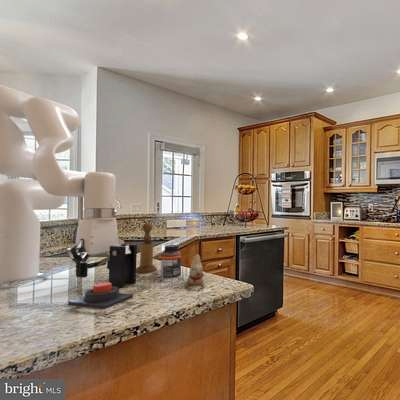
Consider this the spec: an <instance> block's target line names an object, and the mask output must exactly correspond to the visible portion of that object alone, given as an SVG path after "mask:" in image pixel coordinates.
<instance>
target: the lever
mask: <svg viewBox="0 0 400 400" xmlns="http://www.w3.org/2000/svg"><path fill="white" fill-rule="evenodd" d="M128 254H131V250H130V247H129V245H128V246H126V254H125V256H126V255H128ZM107 261H109V255H107V257H103V258H102V259H100V260H97V261H94V262H89V263H88V270H89V269H94V268H98V267H102V266H107Z"/></svg>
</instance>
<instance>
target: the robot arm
mask: <svg viewBox="0 0 400 400" xmlns="http://www.w3.org/2000/svg"><path fill="white" fill-rule="evenodd" d="M11 117H12V118H14V119H18V120H22V121H26V122H27V124H28V126H29V129H30V130H31V132H32V134H33V137H34V138H35V141H36V142H37V144H38V147H37V148H36V149H33V148H30V147H29V146H28V145H27V142H26V138H25V135H24V133H23V131H22V129H21V128H20V127H19V126H18V125H17V124H16V122H14V120H12V119H11ZM80 122H81V121H80V117H79V115H78V113H77V111H76V110H75V109H73V108H72V107H71V106H68V105H65V104H62V103H60V102H57V101H54V100H52V99H49V98H46V97H42V96H34V95H32V94H29V93H26V92H24V91H21V90H18V89H15V88H12V87H10V86H6V85H2V84H0V175H2V176H5V177H6V176H7V177H13V178H7V179H3V180H0V284H4V283H10V282H19V281H25V280H31V279H34V278H37V277H39V276H40V275H42V273H40V259H41V258H40V256H41V255H40V254H41V221H40V219H39V217H38V215H37V214H36V212H35V211H36V210H37V211H39V210H56V209H59V208H61V207H62V206H63V205H64V203H65V201H66V197H73V198H74V197H75V198H83V216H82V219H79V223H78V226H77V230H76V235H75V243H73V244H71V246H69V247H67V248H66V252H67V254H68V256H69V258H70V259H71V260H72V261H73V263H74V264H75V277H76V278H83V279H85V278H87V277H88V271H89V269H88V264H89V263H88V262H87V260H88V259H89V258H90V256H94V255H99V254H105V253H106V254H108V255H109V254H110V246H122V244H125V240H123V239H122V238H120V237H119V232H118V231H119V230H118V222H117V218H116V214H117V210H116V193H117V192H116V190H117V187H116V186H117V177H116V175H115V174H114V173H111V172H103V171H88V172H84V171H78V170H77V171H76V170H69V169H62V167H61V165H60V164H59V162H58V160H57V157H56V155H57V154H61V153H63V152H66V151H68V150H70V149H72V148H73V147H74V146H75V139H74V136H73V135H72V132H75V131H76V130H77V129H78V128H79V126H80ZM106 269H107V270H109V261H107V262H106Z"/></svg>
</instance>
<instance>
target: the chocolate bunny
mask: <svg viewBox="0 0 400 400" xmlns="http://www.w3.org/2000/svg"><path fill="white" fill-rule="evenodd" d="M204 276H205V274H204V268H203V265H202V262H201V256H200V254H195V256H194V258H193V259H192V261H191V263H190V268H189V275H188V277H187V279H186V284H188V285H190V286H200V285H202V284H203V283H204ZM202 288H203V287H200V288H198V289H197V290H202Z"/></svg>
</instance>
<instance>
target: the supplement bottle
mask: <svg viewBox="0 0 400 400" xmlns="http://www.w3.org/2000/svg"><path fill="white" fill-rule="evenodd" d="M160 255H161V257H160V277H161V278H164V279H172V278H173V279H174V278H178V277H180V276H182V253H181V251H180V250H179V244H166V245H164V250H163V252H162V253H161V254H160Z"/></svg>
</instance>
